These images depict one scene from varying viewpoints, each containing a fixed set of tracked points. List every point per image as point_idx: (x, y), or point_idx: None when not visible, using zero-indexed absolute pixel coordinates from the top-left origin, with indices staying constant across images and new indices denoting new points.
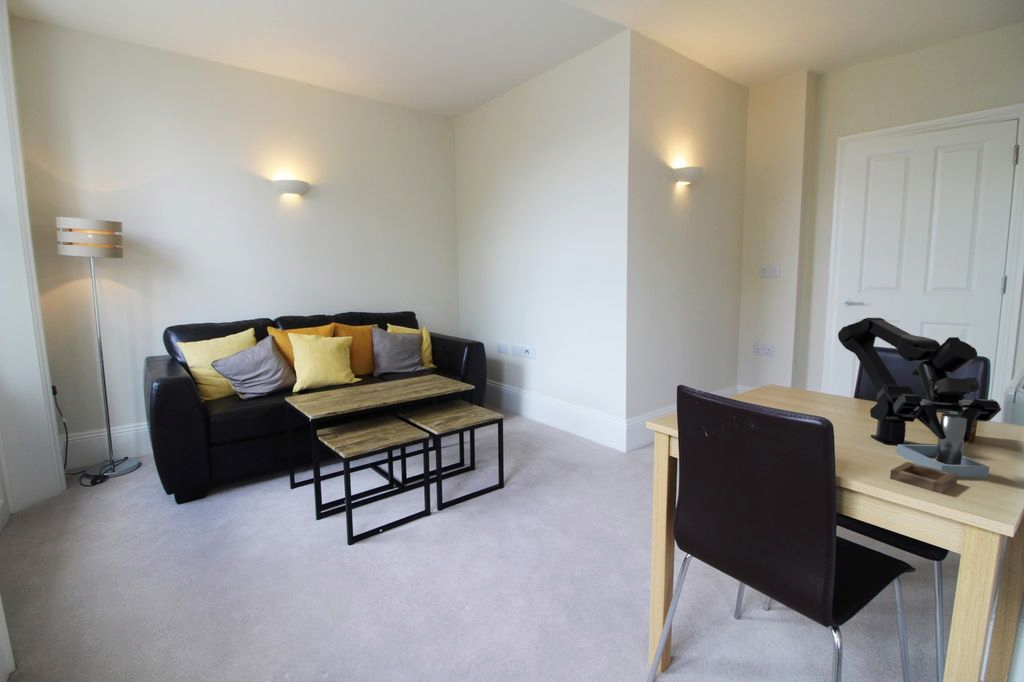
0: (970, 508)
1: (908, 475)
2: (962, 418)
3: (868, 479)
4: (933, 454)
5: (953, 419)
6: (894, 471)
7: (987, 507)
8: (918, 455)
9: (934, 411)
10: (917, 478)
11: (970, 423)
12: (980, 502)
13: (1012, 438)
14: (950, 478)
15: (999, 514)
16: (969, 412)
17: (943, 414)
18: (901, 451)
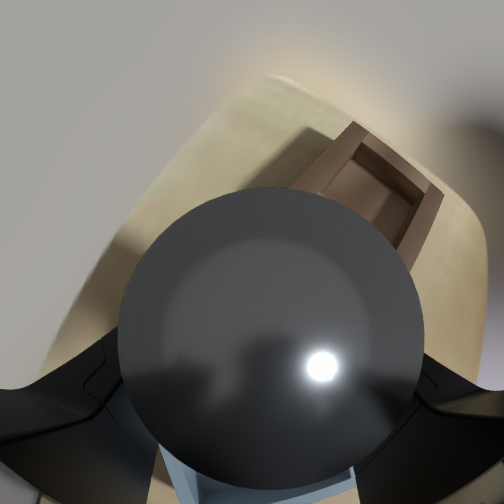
0: (300, 110)
1: (413, 168)
2: (221, 234)
3: (455, 223)
4: (218, 496)
5: (341, 213)
6: (437, 190)
7: (261, 119)
8: None
9: (480, 408)
10: (396, 155)
11: (93, 353)
12: (261, 138)
13: None
14: (320, 158)
15: (255, 97)
16: (18, 415)
17: (395, 397)
18: None
